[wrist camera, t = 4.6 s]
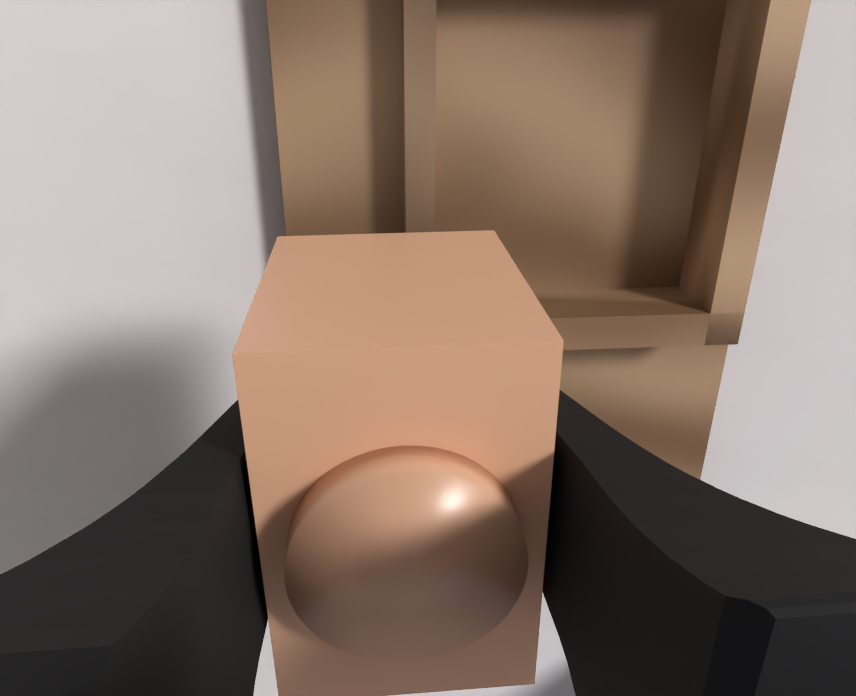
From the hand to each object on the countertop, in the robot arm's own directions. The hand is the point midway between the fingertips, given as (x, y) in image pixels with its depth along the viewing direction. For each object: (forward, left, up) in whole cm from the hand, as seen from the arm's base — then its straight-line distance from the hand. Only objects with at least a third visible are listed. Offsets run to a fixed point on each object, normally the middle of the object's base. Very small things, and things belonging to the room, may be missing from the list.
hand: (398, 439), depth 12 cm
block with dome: (0, 0, -2) cm, 2 cm away
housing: (0, -4, -10) cm, 11 cm away
